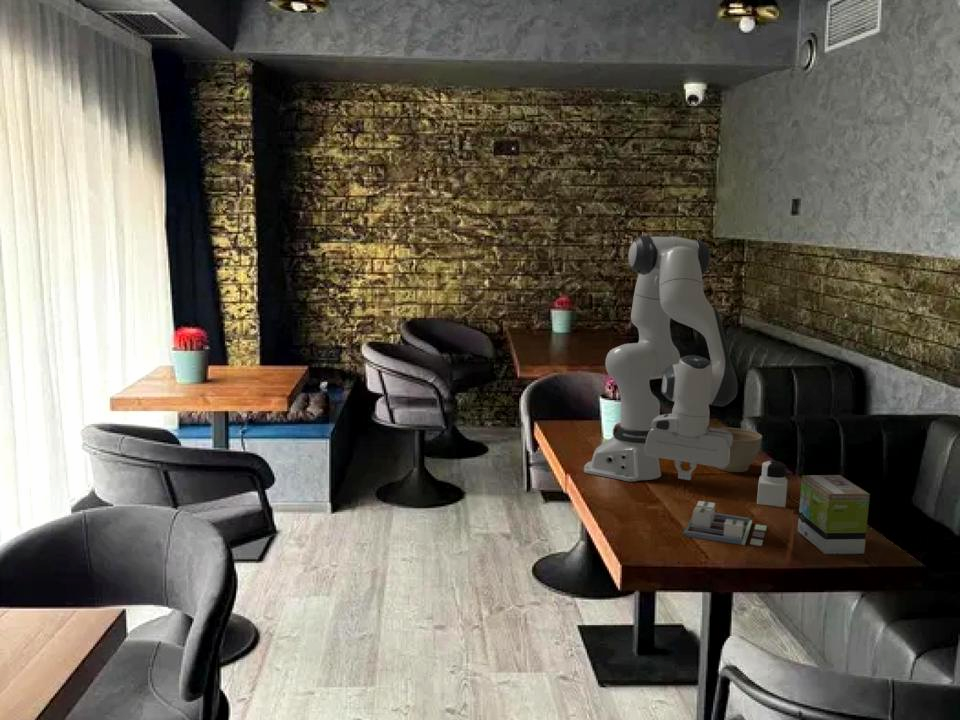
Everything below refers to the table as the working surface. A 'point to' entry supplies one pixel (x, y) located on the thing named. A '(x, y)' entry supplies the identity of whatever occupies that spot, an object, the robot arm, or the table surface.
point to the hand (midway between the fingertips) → (684, 478)
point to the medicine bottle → (772, 484)
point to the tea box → (833, 514)
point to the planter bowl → (742, 449)
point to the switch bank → (723, 538)
